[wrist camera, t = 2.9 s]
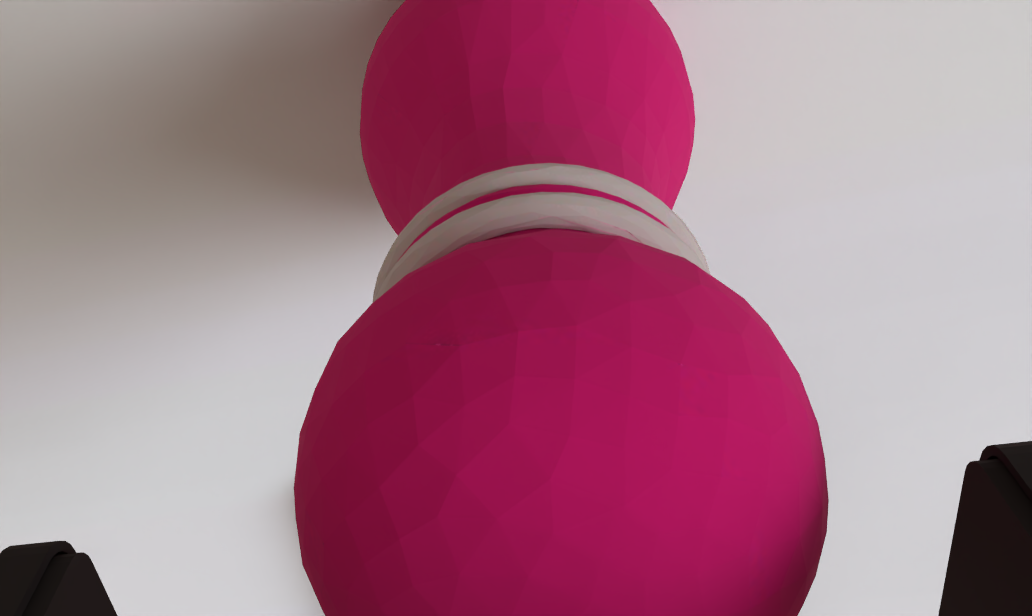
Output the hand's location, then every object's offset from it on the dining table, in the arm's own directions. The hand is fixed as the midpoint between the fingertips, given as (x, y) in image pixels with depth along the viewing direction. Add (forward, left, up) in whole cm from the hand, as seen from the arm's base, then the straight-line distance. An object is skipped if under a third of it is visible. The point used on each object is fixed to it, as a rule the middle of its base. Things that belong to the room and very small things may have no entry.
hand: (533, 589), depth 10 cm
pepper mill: (0, 0, -17) cm, 17 cm away
